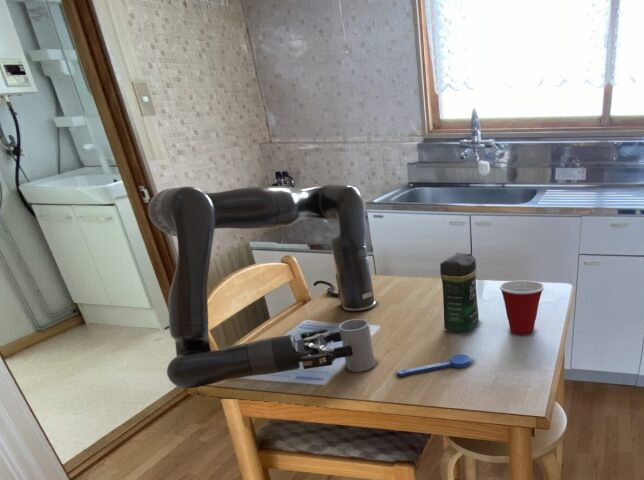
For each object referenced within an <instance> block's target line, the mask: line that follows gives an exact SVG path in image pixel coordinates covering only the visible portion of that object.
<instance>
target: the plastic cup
mask: <svg viewBox="0 0 644 480" xmlns="http://www.w3.org/2000/svg"><path fill="white" fill-rule="evenodd" d="M544 289H545V285H544V284H543V283H542V282H540V281H539V282H538V281H534V280H520V279H519V280H511V281H505V282H502V283H501V284H499V290H500V291H501V294H502V298H503V301H504V306H505V313H506V318H507V321H508V326H509V330H510V332H511V333H512V334H514V335H516V336H526V335H527V336H528V335H530V334H532V333H533V332H534V330H535V325H536V320H537V316H538V309H539V305H540V300H541V296H542V292H543V291H544Z"/></svg>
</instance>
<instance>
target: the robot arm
mask: <svg viewBox="0 0 644 480" xmlns="http://www.w3.org/2000/svg"><path fill="white" fill-rule="evenodd" d="M147 207H148V208H147V214H148V217H149V219H150V221H151V223H152V224H153V225H154V226H155V227H156V228H157V229H158V230H160V231H161V232H162V233H165V234H167V235H170V236H172V237H176V240H177V260H176V267H175V270H174V271H175V272H174V274H173V277H172V282H171V284H170V289H169V292H168V293H169V294H168V301H167V302H168V327H169V333H170V337H171V338H172V339H173V340H174V344H175V345H174V346H175V357H174V358H172V359H171V360H170V362H168V365H167V368H166V375H167V378H168V380H169V381H170V382H171V383H172V384H173V385H174V386H176V387H178V388H181V389H196V388H200V387H204V386H209V385H213V384H216V383H221V382H224V381H227V380H228V381H229V380H236V379H242V378H248V377H253V376H265V375H273V374H277V373H278V374H279V373H283V372H289V371H294V370H298V369H299V370H300V367H301V364H302V368H303V370H310V369H316V368H322V367H328V366H333V364H334V363H333V362H335V361H336V359H337V360H338V359H341V358H342V359H343V358H345V357H348V356H352V355H353V353H352V348H351V346H343V347H342V346H338V347H333V348H329V347H327V346H328V345H330V344H333V343H339V342H340V343H341V337H340V332H339V330H338V331H334V332H333V331H332V332H331V331H328V328H321V329H317V330H311V331H306V332H302V333H300V339H299V340H296V339H295V336H294V335H292V334H288V335H281V336H275V337H269V338H263V339H257V340H254V341H251V342H245V343H240V344H234V345H229V346H226V347H222V348H220V349H214V350H212V348H211V342H210V338H209V304H208V301H209V300H208V292H209V291H208V290H209V289H208V288H209V276H210V275H209V274H210V265H211V258H212V250H213V241H214V234H215V230H216V229H238V230H240V229H241V230H265V229H267V230H268V229H269V230H270V229H278V228H285V227H289V226H293V225H295V224H297V223H299V222H301V221H304V220H325V221H330V222H331V221H332V222H338V227H339V228H338V229H339V231H338V233H336V234H334V235H332V236H331V238H330V247H331V252H332V257H333V261H334V267H335V272H336V273H335V280H336V286H337V292H333V290H334V289H335V285H334V284H333V283H331V282H328V281H327V280H316V281H314V283H313V284H312V286H314V287H316V286H317V285H319V284H322V285H326V286H329V288H328V289H327V294H328V295H330V296H334V297H338V299H339V301H340V305H341V306H342V309H343V311H347V312H362V311H366V310H367V311H368V310H370V309H372V308H374V307H375V306H376V299H375V293H374V287H373V279H372V274H371V268H370V267H371V266H370V261H369V255H368V249H367V244H366V243H367V242H366V238H367V223H366V222H367V221H366V213H365V204H364V200H363V197H362V194H361V193H360V190H358V188H357V187H356V186H353V185H351V184H349V185H348V184H337V183H336V184H335V183H330V184H329V183H328V184H323V185H319V186H313V187H306V188H296V187H292V186H284V185H256V186H248V187H247V186H246V187H239V188H233V189H229V190H225V191H218V192H205V191H203V189H200V188H198V187H195V186H189V185H188V186H179V187H172V188H166V189H162V190H161V191H158V193H156V194H155V195H154V196H153V197H152V198H151V199H150V201H149V204H148V206H147Z"/></svg>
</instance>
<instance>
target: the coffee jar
mask: <svg viewBox="0 0 644 480" xmlns="http://www.w3.org/2000/svg"><path fill="white" fill-rule="evenodd" d="M439 271H440V278H441V285H442V299H443V300H442V301H443V302H442V303H443V327H444V329H445V330H446V331H448V332H451V333H453V334H462V333H469V332H471V331H472V330H474V329H475V328H476V327H477V325H478V324H479V322H480V317H479V307H478V293H477V260H476V257H475V256H474V255H473V254H472V253H465V252H456V253H455V254H453V255H451V256H449V257H447V258H446V259H445V260H443V261H441V263H440V266H439Z"/></svg>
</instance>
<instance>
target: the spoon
mask: <svg viewBox="0 0 644 480" xmlns="http://www.w3.org/2000/svg"><path fill="white" fill-rule="evenodd" d="M471 363H472V358H471V356H470V355H468V354H464V353H459V354H455V355H453V356H451V357H450V359H449V360H447V361H443V362H437V363H432V364H426V365H421V366H415V367H409V368H403V369H402V368H401V369H399V370H397V372H396V373H397V377H398V376H399V377H405V376H409V375H413V374H419V373H425V372H429V371H434V370H435V371H436V370H441V369H445V368H451V367H453V368H455V369H463V368H467V367H469V366H470V365H471Z"/></svg>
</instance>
